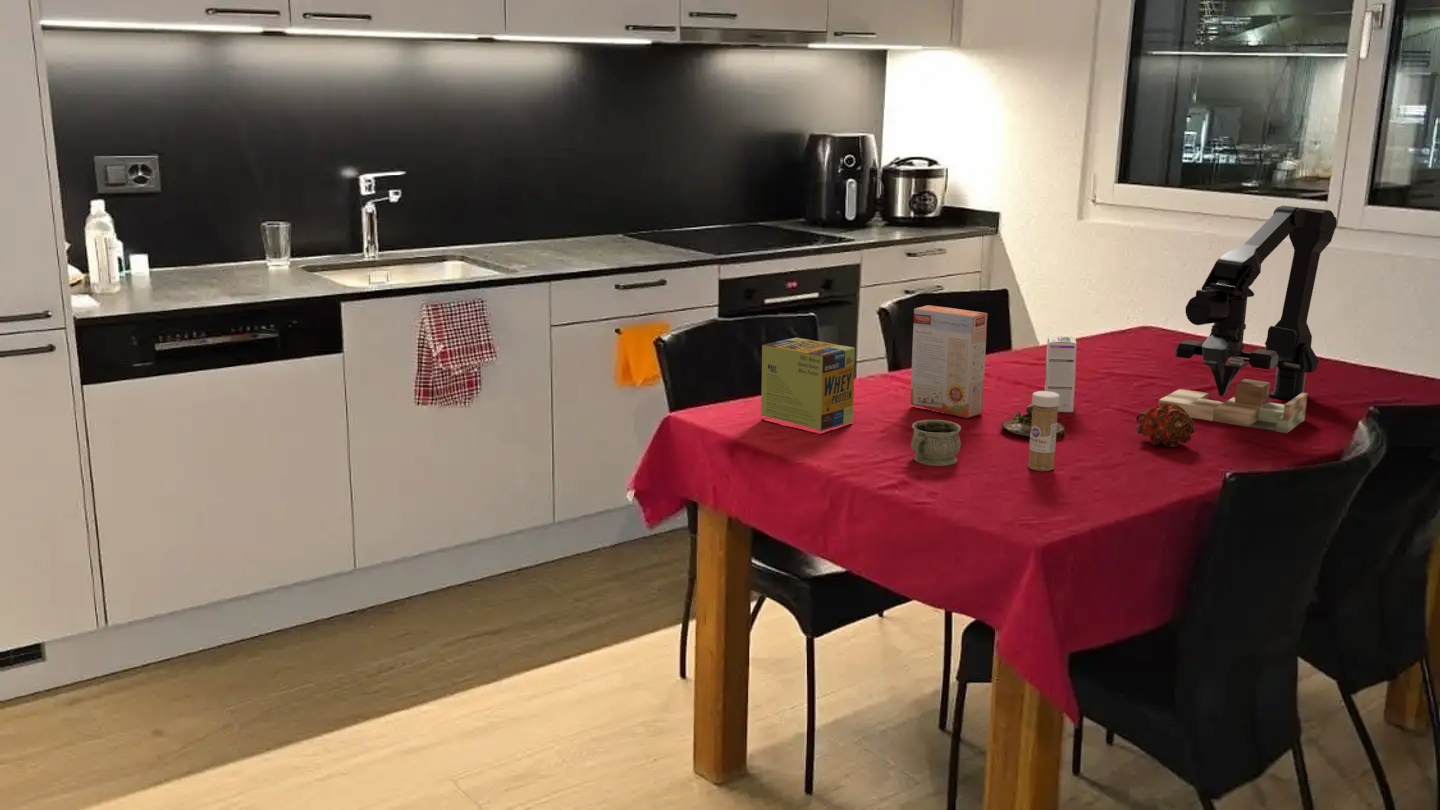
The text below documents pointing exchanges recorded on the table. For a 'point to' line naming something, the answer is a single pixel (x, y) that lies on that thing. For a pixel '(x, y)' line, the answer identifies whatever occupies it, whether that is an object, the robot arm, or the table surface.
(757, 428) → the table surface
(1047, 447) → the sprinkles bottle
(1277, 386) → the robot arm
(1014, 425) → the plate with green herbs
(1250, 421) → the trap deck
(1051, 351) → the syrup box
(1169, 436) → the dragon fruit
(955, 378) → the cracker box
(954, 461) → the vessel
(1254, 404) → the walnut block
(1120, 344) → the table surface
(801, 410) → the protein box
